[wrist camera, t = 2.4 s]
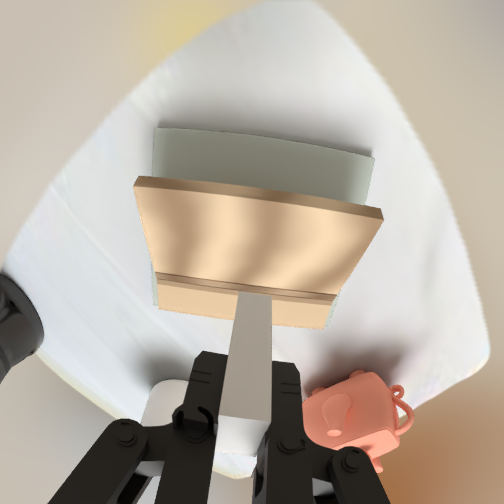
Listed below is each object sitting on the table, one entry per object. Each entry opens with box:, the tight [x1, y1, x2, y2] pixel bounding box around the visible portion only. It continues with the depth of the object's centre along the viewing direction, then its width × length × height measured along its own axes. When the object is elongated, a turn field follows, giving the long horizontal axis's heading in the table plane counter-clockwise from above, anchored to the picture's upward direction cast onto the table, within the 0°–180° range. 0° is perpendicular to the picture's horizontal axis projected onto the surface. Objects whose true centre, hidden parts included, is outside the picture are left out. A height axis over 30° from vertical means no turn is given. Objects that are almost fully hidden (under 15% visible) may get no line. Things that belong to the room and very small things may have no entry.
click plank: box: [133, 176, 384, 300], centre depth 25 cm, size 18×12×1 cm, turn 83°
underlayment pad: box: [151, 128, 375, 329], centre depth 28 cm, size 20×19×2 cm
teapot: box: [302, 369, 414, 473], centre depth 34 cm, size 15×17×13 cm
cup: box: [140, 379, 188, 426], centre depth 36 cm, size 10×10×10 cm
